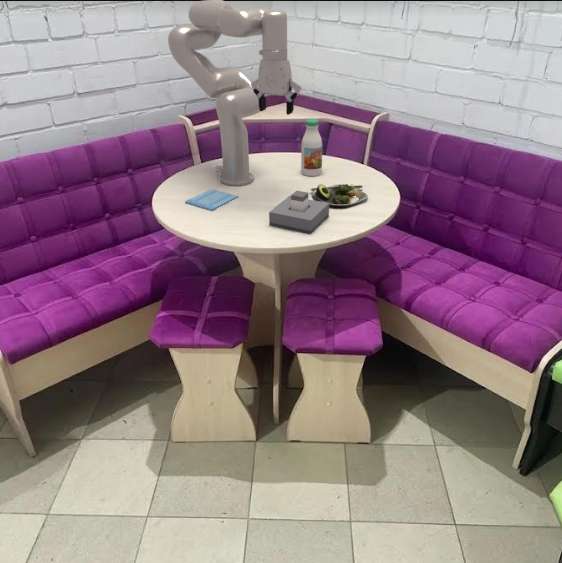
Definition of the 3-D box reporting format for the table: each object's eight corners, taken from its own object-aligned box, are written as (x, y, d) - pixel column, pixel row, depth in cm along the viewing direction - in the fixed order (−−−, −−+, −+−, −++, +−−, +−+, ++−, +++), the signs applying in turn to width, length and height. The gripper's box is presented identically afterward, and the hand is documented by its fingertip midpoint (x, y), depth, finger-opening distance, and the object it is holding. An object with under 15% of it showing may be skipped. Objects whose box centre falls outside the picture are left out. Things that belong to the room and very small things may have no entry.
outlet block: (269, 225, 174) (269, 211, 172) (289, 208, 185) (289, 195, 183) (310, 233, 169) (310, 220, 166) (328, 216, 179) (329, 203, 177)
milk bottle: (297, 174, 212) (297, 120, 202) (308, 168, 217) (308, 116, 207) (314, 178, 208) (315, 124, 198) (325, 172, 214) (327, 119, 203)
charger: (291, 219, 176) (290, 195, 172) (296, 214, 179) (296, 190, 175) (302, 221, 174) (302, 197, 170) (308, 216, 177) (308, 192, 173)
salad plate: (347, 183, 204) (347, 171, 202) (380, 199, 191) (381, 186, 189) (303, 195, 195) (303, 183, 193) (335, 213, 182) (335, 199, 180)
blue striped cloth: (211, 192, 200) (211, 188, 199) (238, 199, 194) (238, 195, 193) (185, 204, 190) (185, 201, 190) (212, 212, 184) (212, 209, 184)
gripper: (244, 55, 172) (246, 112, 181) (295, 59, 166) (295, 117, 174) (256, 51, 178) (258, 106, 187) (306, 55, 171) (305, 112, 180)
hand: (276, 112), depth 181 cm, fingers open, 9 cm apart
